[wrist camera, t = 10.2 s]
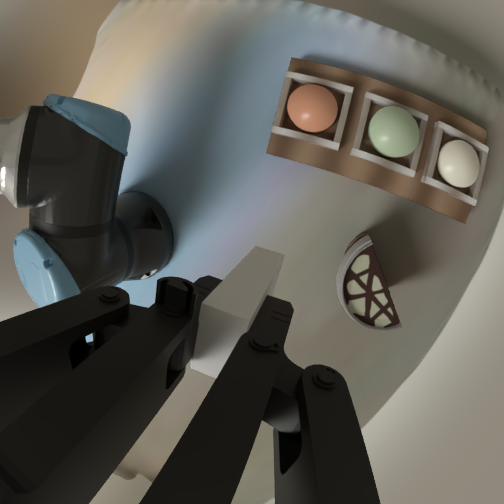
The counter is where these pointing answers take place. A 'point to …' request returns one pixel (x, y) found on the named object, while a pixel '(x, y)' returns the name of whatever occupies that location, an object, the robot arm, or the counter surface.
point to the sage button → (393, 132)
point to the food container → (365, 287)
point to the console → (360, 148)
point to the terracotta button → (312, 108)
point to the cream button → (457, 163)
